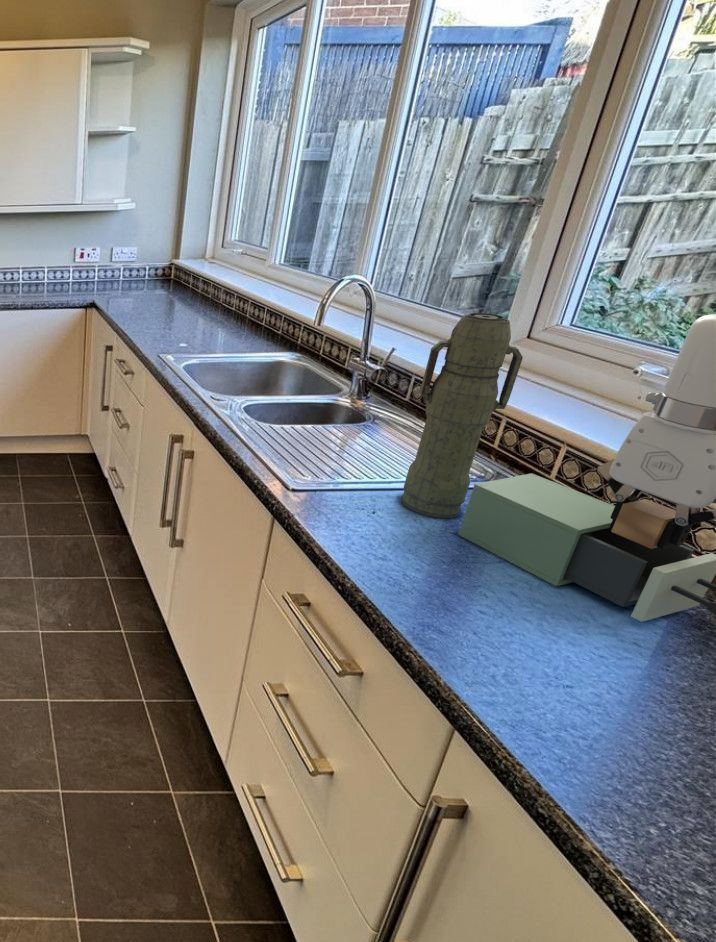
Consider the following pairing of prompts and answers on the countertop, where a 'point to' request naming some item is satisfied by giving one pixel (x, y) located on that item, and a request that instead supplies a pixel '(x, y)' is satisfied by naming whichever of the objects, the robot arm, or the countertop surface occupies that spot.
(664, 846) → the countertop surface
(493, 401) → the thermos
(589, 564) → the pull-out drawer
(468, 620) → the countertop surface
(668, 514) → the block
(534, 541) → the sage drawer box
